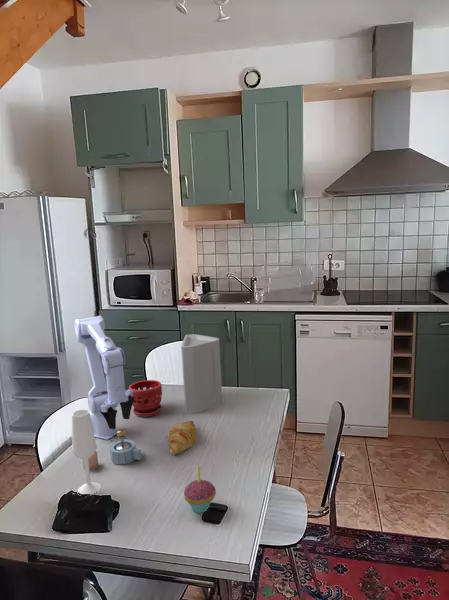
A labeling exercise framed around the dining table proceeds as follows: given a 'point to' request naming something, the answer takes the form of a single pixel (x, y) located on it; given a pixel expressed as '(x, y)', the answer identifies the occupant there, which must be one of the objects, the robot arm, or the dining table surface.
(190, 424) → the croissant
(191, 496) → the cupcake
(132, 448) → the press pot
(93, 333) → the robot arm
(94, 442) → the champagne flute
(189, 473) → the dining table surface
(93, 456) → the tan rounded cylinder
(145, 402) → the plant pot
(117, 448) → the plunger
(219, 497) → the dining table surface
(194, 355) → the grey tall triangular prism
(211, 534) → the dining table surface
